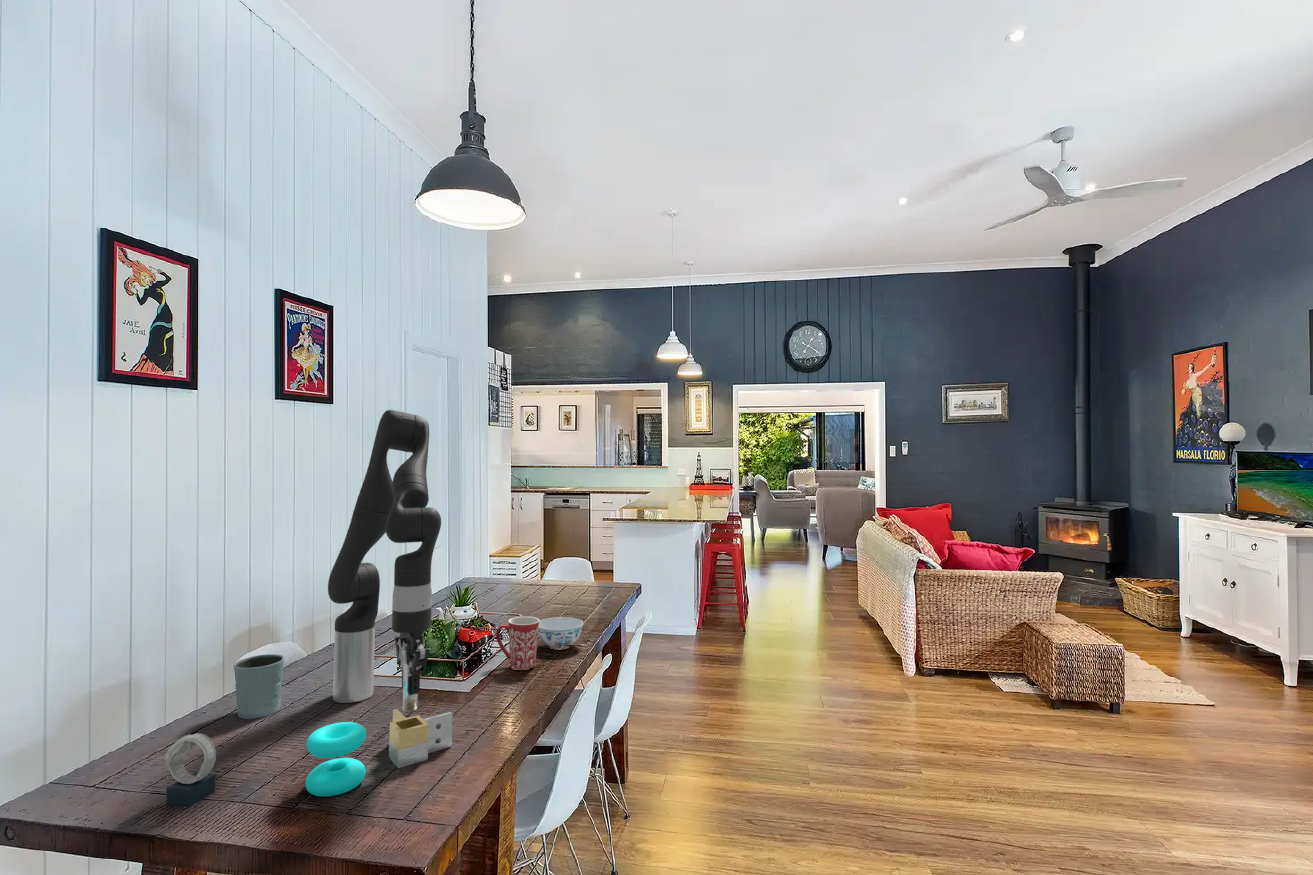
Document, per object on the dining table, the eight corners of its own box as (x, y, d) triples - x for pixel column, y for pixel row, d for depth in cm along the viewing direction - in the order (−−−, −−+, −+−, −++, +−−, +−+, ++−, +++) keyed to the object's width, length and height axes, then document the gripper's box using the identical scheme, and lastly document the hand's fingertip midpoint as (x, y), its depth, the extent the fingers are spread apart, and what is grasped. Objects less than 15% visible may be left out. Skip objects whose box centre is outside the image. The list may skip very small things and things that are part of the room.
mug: (543, 662, 186) (543, 617, 186) (532, 673, 177) (533, 625, 177) (502, 660, 188) (503, 614, 188) (490, 670, 179) (490, 622, 179)
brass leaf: (379, 746, 132) (380, 712, 132) (407, 738, 136) (408, 705, 136) (398, 768, 123) (399, 732, 123) (427, 759, 127) (428, 724, 127)
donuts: (367, 716, 124) (366, 737, 114) (366, 767, 123) (364, 793, 114) (309, 724, 120) (303, 747, 110) (308, 777, 119) (302, 804, 110)
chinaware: (579, 655, 193) (579, 630, 193) (530, 654, 193) (531, 629, 194) (585, 640, 208) (586, 617, 208) (540, 640, 208) (540, 616, 208)
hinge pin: (398, 708, 128) (399, 648, 128) (415, 704, 130) (416, 645, 130) (404, 713, 125) (405, 653, 125) (421, 709, 127) (422, 649, 128)
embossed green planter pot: (288, 711, 149) (290, 660, 149) (238, 724, 142) (240, 671, 142) (275, 699, 156) (276, 651, 156) (227, 711, 149) (228, 660, 149)
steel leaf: (388, 757, 128) (389, 722, 128) (445, 740, 135) (446, 707, 135) (398, 768, 123) (399, 732, 123) (456, 750, 131) (457, 716, 131)
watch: (185, 788, 115) (187, 727, 115) (223, 792, 114) (225, 731, 114) (156, 804, 109) (158, 741, 110) (195, 809, 108) (198, 745, 108)
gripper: (443, 609, 125) (441, 697, 125) (418, 597, 136) (417, 677, 135) (405, 615, 120) (403, 706, 120) (382, 602, 131) (380, 685, 131)
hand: (410, 690), depth 128 cm, fingers closed on hinge pin, 2 cm apart
